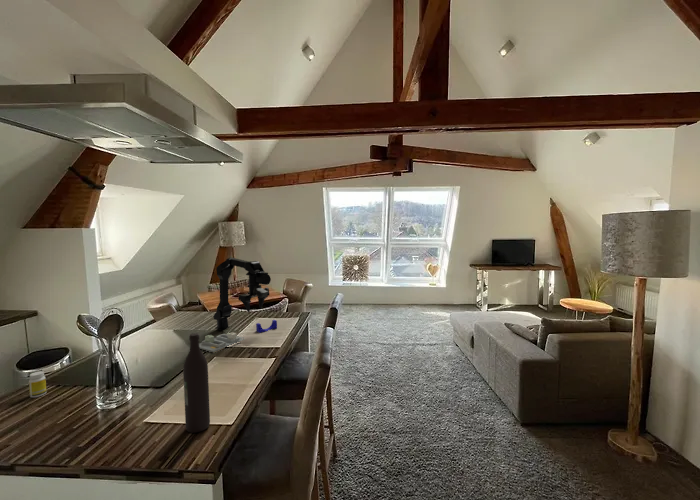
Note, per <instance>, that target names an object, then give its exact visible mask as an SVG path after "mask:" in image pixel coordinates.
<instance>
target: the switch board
mask: <svg viewBox="0 0 700 500" xmlns="http://www.w3.org/2000/svg"><path fill="white" fill-rule="evenodd" d="M236 336H237V335H236ZM242 338H243V339H242ZM244 338H245V337H242V336H237V338H236V339H233V340H232V339H228V333H226V334H225V333H222V334H219V335H216V336H215V337H214V343H210V342H206V341H205V339H204V340H202V341H201V342H199V347H200V349H204V350H206V351H205V352H207V351H209V352H208V353H210V352H215V351H218V350H220V349H222V348H225V347H227V346H229V345H232V344H234V343H237V342H241V341H245V339H244Z"/></svg>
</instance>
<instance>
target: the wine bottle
mask: <svg viewBox="0 0 700 500" xmlns="http://www.w3.org/2000/svg"><path fill="white" fill-rule="evenodd" d="M188 338H189V343H190V344H189V345H190V346H189V352H188V354H187V356H186V357H185V360H184V363H183V368H182V369H183V370H182V374H183V392H184V393H183V396H184V417H185V418H184V419H185V429H186V430H185V431H187V432H188V433H195V434H196V433H199V432H200V433H201V432H202V431H204V430H206V429H208V428H209V426H210V424H211V415H210V414H211V413H210V412H211V411H210V410H211V409H210V388H209V387H210V385H209V365H208V361H207V358H206V356H205V354H204V353H203V350H200V347H199V344H200V338H201V337H200V334H199V333H198V332H195V333H190V334H189V337H188Z"/></svg>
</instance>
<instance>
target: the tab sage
mask: <svg viewBox="0 0 700 500" xmlns="http://www.w3.org/2000/svg"><path fill="white" fill-rule="evenodd" d="M214 338H215V336H214V335H212V334H208V335H205V336H204V340H205V341H206V342H210V343H214Z"/></svg>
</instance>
